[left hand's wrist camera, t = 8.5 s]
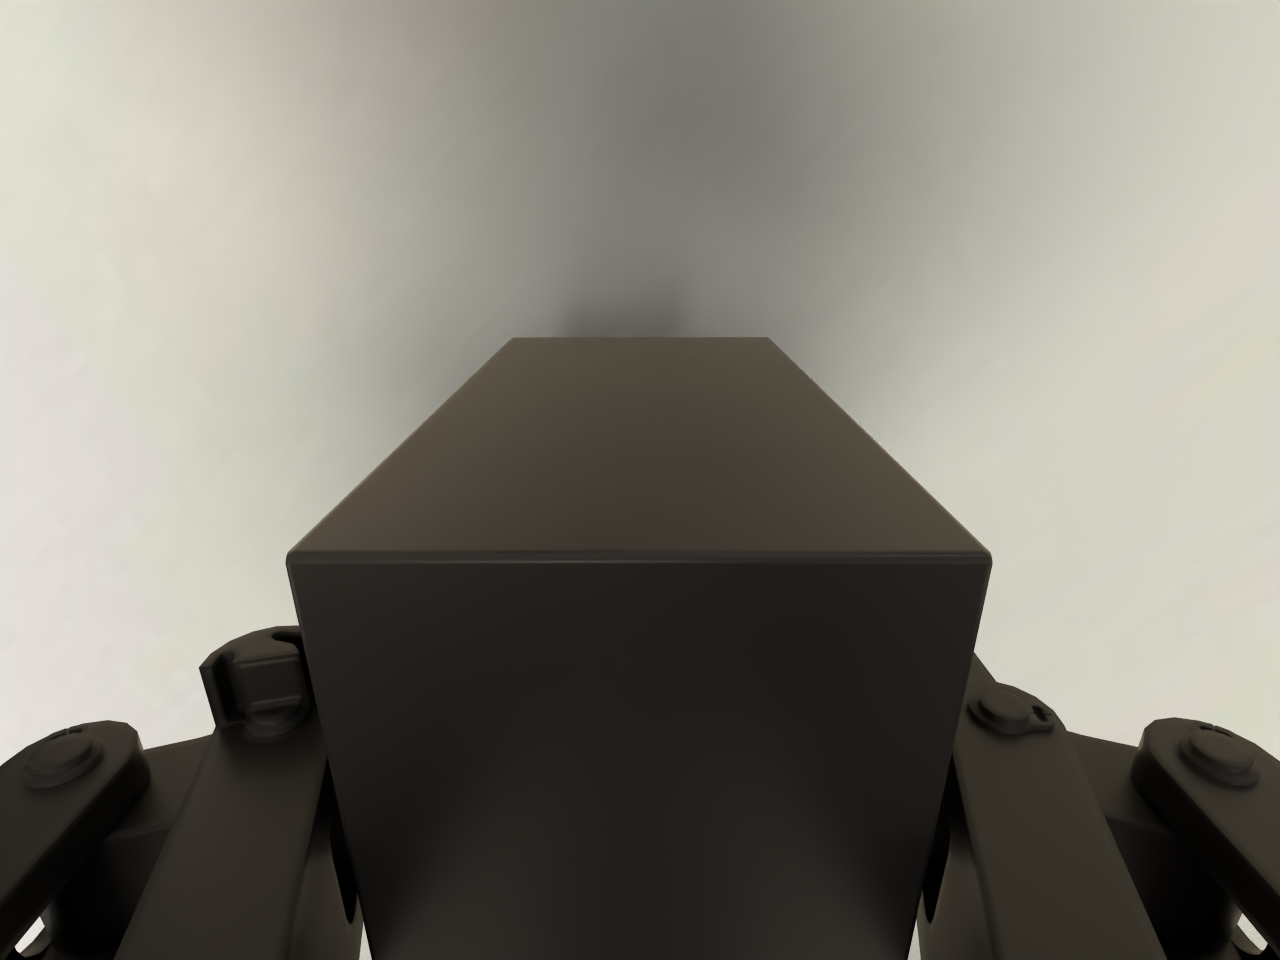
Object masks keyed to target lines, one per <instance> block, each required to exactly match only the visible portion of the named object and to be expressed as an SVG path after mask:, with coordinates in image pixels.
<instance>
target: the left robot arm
mask: <svg viewBox="0 0 1280 960" xmlns="http://www.w3.org/2000/svg"><path fill="white" fill-rule="evenodd" d="M199 670H200V673H201V677H202V680H203V684H204V687H205V691H206V694H207V697H208V701H209V704H210V708H211V711H212V715H213V718H214V722H215V725H216V727H215V729H214V732H213V734H211V735H208V736H204V737H200V738H197V739H192V740H187V741H183V742H178V743H173V744H169V745H164V746H159V747H155V748H150V749H146V750H143V747H142V744H141V741H140V738H139V735H138V733H137V731H136V730H135V729H134V728H132V727H131V726H130V725H129V724H127V723H124V722H116V721H109V720H106V721H99V722H92V723H84V724H80V725H77V726H73V727H70V728H68V729H63V730H60V731H58V732H55V733H52V734H51V735H49V736H47V737H45V738H43V739H41V740H39V741H37V742H35V743H33V744H31V745H29V746H27V747H26V748H24V749H23V750H21V751H20V752H19V753H17V754H16V755H15V756H13V757H12V758H10V759H9V760H8V761H6V762H5V763H4V764H2V765H1V766H0V960H359V956H360V947H361V938H362V929H363V916H362V912H361V907H360V903H359V898H358V893H357V889H356V884H355V880H354V875H353V870H352V866H351V861H350V857H349V852H348V848H347V843H346V838H345V834H344V829H343V825H342V820H341V815H340V811H339V806H338V802H337V797H336V792H335V788H334V783H333V779H332V774H331V769H330V765H329V760H328V756H327V751H326V747H325V742H324V737H323V733H322V728H321V724H320V719H319V714H318V710H317V705H316V701H315V696H314V691H313V687H312V682H311V678H310V673H309V669H308V664H307V659H306V655H305V650H304V646H303V641H302V636H301V632H300V627H299V626H276V627H271V628H267V629H263V630H258V631H254V632H251V633H248V634H246V635H244V636H241V637H239V638H236V639H234V640H231V641H229V642H228V643H226V644H225V645H223V646H222V647H220V648H219V649H217V650H216V651H214V652H213V653H211V654H210V655H209V656H208V657H207V659H206V660H205V661H204V662H203V663H202V664H201V666H200V667H199ZM1242 913H1243V914H1244V915H1245V916H1246V918H1247V919H1248V920H1249V921H1250V922H1251V924H1252V925H1253V926H1254V927H1255V928H1256V930H1257V931H1258V932H1259V933H1260V934H1261V936H1262V937H1263V938H1264V939H1265V940H1266V942H1267V943H1268V944H1267V946H1266V948H1265V949H1264V950H1263V951H1262V950H1260V949H1259V948H1258V947H1257V946H1256V945H1255V944H1254V943H1253V942H1252V941H1251V940H1250V939H1249V938H1248V937H1247V936H1246V935H1245V933H1244V932H1243V931H1242V930H1241V928H1240V927H1239V926H1238V925H1237V923H1238V921H1239V919H1240V917H1241V915H1242ZM39 916H40V917H41V919H42V922H43V924H44V926H45V927H44V928H43V930H42V931H41V932H40V933H39V935H38V936H37V937H36V938H35V939H34V941H33V942H32V943H31V944H29V945H28V946H27V947H26V948H25V949H24V950H23V951H22V952H21V953H19V952H17V951H16V949H15V945H16V944H17V943H18V942H19V940H20V939H21V938H22V937H23V936H24V934H25V933H26V932H27V931H28V930H29V928H30V927H31V926H32V925H33V924H34V922H35V921H36V920H37V919H38V917H39ZM917 927H918V936H919V945H920V954H921V960H1280V761H1279V760H1277V759H1276V758H1274V757H1273V756H1272V755H1270V754H1269V753H1267V752H1266V751H1265V750H1263V749H1262V748H1260V747H1259V746H1258V745H1256V744H1255V743H1253V742H1251V741H1249V740H1247V739H1245V738H1243V737H1241V736H1239V735H1237V734H1235V733H1233V732H1231V731H1229V730H1227V729H1224V728H1221V727H1219V726H1214V725H1212V724H1209V723H1205V722H1201V721H1197V720H1189V719H1182V718H1175V717H1174V718H1166V719H1159V720H1154V721H1153V722H1152V723H1151V724H1149V725H1148V726H1147V727H1146V728H1145V729H1144V732H1143V734H1142V737H1141V740H1140V743H1139V746H1138V747H1135V746H1130V745H1125V744H1121V743H1116V742H1112V741H1107V740H1102V739H1098V738H1093V737H1088V736H1084V735H1080V734H1076V733H1073V732H1069V731H1067V730H1066V728H1065V726H1064V724H1063V723H1062V722H1061V720H1060V719H1059V717H1058V716H1057V715H1056V713H1055V712H1054V711H1053V710H1052V709H1051V708H1050V707H1048V706H1047V705H1046V704H1044V703H1043V702H1042V701H1040V700H1039V699H1038V698H1036V697H1035V696H1033V695H1031V694H1029V693H1026V692H1024V691H1022V690H1020V689H1018V688H1016V687H1014V686H1010V685H1006V684H1002V683H998V682H996V681H995V679H994V678H993V677H992V675H991V674H990V673H989V671H988V670H987V669H986V667H985V666H984V665H983V663H982V662H981V661H980V659H979V658H978V657H977V656H976V654H975V653H974V652H973V657H972V661H971V666H970V671H969V675H968V680H967V685H966V689H965V694H964V699H963V703H962V708H961V713H960V717H959V722H958V727H957V731H956V736H955V741H954V745H953V750H952V755H951V759H950V764H949V769H948V773H947V778H946V783H945V787H944V792H943V797H942V801H941V806H940V810H939V815H938V820H937V824H936V829H935V834H934V838H933V843H932V848H931V852H930V857H929V862H928V866H927V871H926V876H925V880H924V885H923V890H922V894H921V899H920V904H919V908H918V913H917Z"/></svg>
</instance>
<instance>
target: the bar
mask: <svg viewBox="0 0 1280 960" xmlns="http://www.w3.org/2000/svg"><path fill="white" fill-rule="evenodd" d="M286 568H287V572H288V577H289V581H290V586H291V590H292V595H293V600H294V604H295V609H296V613H297V618H298V623H299V627H300V632H301V636H302V641H303V646H304V650H305V655H306V659H307V664H308V669H309V673H310V678H311V682H312V687H313V691H314V696H315V701H316V705H317V710H318V714H319V719H320V724H321V728H322V733H323V737H324V742H325V747H326V751H327V756H328V760H329V765H330V769H331V774H332V779H333V783H334V788H335V792H336V797H337V802H338V806H339V811H340V815H341V820H342V825H343V829H344V834H345V838H346V843H347V848H348V852H349V857H350V861H351V866H352V870H353V875H354V880H355V884H356V889H357V893H358V898H359V903H360V907H361V912H362V916H363V921H364V926H365V930H366V935H367V939H368V944H369V949H370V953H371V958H372V960H908V955H909V950H910V946H911V941H912V936H913V932H914V927H915V922H916V918H917V913H918V908H919V904H920V899H921V894H922V890H923V885H924V880H925V876H926V871H927V866H928V862H929V857H930V852H931V848H932V843H933V838H934V834H935V829H936V824H937V820H938V815H939V810H940V806H941V801H942V797H943V792H944V787H945V783H946V778H947V773H948V769H949V764H950V759H951V755H952V750H953V745H954V741H955V736H956V731H957V727H958V722H959V717H960V713H961V708H962V703H963V699H964V694H965V689H966V685H967V680H968V675H969V671H970V666H971V661H972V657H973V652H974V647H975V643H976V638H977V633H978V629H979V624H980V619H981V615H982V610H983V605H984V601H985V596H986V591H987V587H988V582H989V577H990V573H991V568H992V556H991V553H990V552H989V551H988V550H987V549H986V548H985V547H984V546H983V545H982V544H981V543H980V542H979V541H978V540H977V539H976V538H975V537H974V536H973V535H972V534H971V533H970V532H969V531H968V530H967V529H965V528H964V527H963V526H962V525H961V524H960V523H959V522H958V521H957V520H956V519H955V518H954V517H953V516H952V515H951V514H950V513H949V512H948V511H947V510H946V509H945V508H944V507H943V506H942V505H941V504H940V503H939V502H938V501H937V500H936V499H935V498H933V497H932V496H931V495H930V494H929V493H928V492H927V491H926V490H925V489H924V488H923V487H922V486H921V485H920V484H919V483H918V482H917V481H916V480H915V479H914V478H913V477H912V476H911V475H910V474H909V473H908V472H907V471H906V470H905V469H904V468H903V467H901V466H900V465H899V464H898V463H897V462H896V461H895V460H894V459H893V458H892V457H891V456H890V455H889V454H888V453H887V452H886V451H885V450H884V449H883V448H882V447H881V446H880V445H879V444H878V443H877V442H876V441H875V440H874V439H873V438H872V437H871V436H869V435H868V434H867V433H866V432H865V431H864V430H863V429H862V428H861V427H860V426H859V425H858V424H857V423H856V422H855V421H854V420H853V419H852V418H851V417H850V416H849V415H848V414H847V413H846V412H845V411H844V410H843V409H842V408H841V407H840V406H839V405H837V404H836V403H835V402H834V401H833V400H832V399H831V398H830V397H829V396H828V395H827V394H826V393H825V392H824V391H823V390H822V389H821V388H820V387H819V386H818V385H817V384H816V383H815V382H814V381H813V380H812V379H811V378H810V377H809V376H808V375H807V374H806V373H804V372H803V371H802V370H801V369H800V368H799V367H798V366H797V365H796V364H795V363H794V362H793V361H792V360H791V359H790V358H789V357H788V356H787V355H786V354H785V353H784V352H783V351H782V350H781V349H780V348H779V347H778V346H777V345H776V344H775V343H774V342H772V341H771V340H770V339H769V338H512V339H511V340H510V341H509V342H508V343H506V344H505V345H504V346H503V347H502V348H501V349H500V350H499V351H498V352H497V353H496V354H495V355H494V356H493V357H492V358H491V359H490V360H489V361H488V362H487V363H486V364H485V365H483V366H482V367H481V368H480V369H479V370H478V371H477V372H476V373H475V374H474V375H473V376H472V377H471V378H470V379H469V380H468V381H467V382H466V383H465V384H464V385H463V386H462V387H460V388H459V389H458V390H457V391H456V392H455V393H454V394H453V395H452V396H451V397H450V398H449V399H448V400H447V401H446V402H445V403H444V404H443V405H442V406H441V407H440V408H438V409H437V410H436V411H435V412H434V413H433V414H432V415H431V416H430V417H429V418H428V419H427V420H426V421H425V422H424V423H423V424H422V425H421V426H420V427H419V428H418V429H417V430H415V431H414V432H413V433H412V434H411V435H410V436H409V437H408V438H407V439H406V440H405V441H404V442H403V443H402V444H401V445H400V446H399V447H398V448H397V449H396V450H395V451H393V452H392V453H391V454H390V455H389V456H388V457H387V458H386V459H385V460H384V461H383V462H382V463H381V464H380V465H379V466H378V467H377V468H376V469H375V470H374V471H373V472H372V473H370V474H369V475H368V476H367V477H366V478H365V479H364V480H363V481H362V482H361V483H360V484H359V485H358V486H357V487H356V488H355V489H354V490H353V491H352V492H351V493H350V494H349V495H347V496H346V497H345V498H344V499H343V500H342V501H341V502H340V503H339V504H338V505H337V506H336V507H335V508H334V509H333V510H332V511H331V512H330V513H329V514H328V515H327V516H325V517H324V518H323V519H322V520H321V521H320V522H319V523H318V524H317V525H316V526H315V527H314V528H313V529H312V530H311V531H310V532H309V533H308V534H307V535H306V536H305V537H304V538H302V539H301V540H300V541H299V542H298V543H297V544H296V545H295V546H294V547H293V548H292V549H291V550H290V551H289V552H288V554H287V557H286Z"/></svg>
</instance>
